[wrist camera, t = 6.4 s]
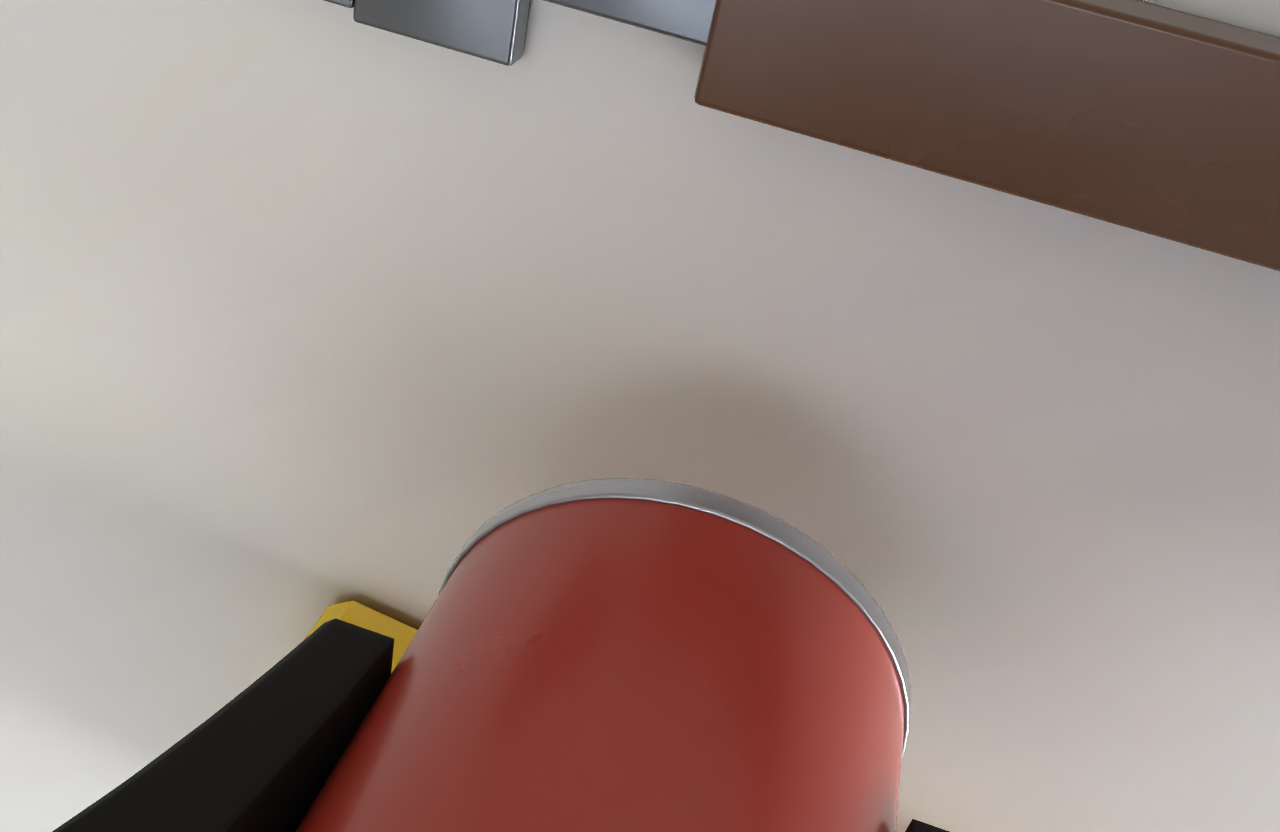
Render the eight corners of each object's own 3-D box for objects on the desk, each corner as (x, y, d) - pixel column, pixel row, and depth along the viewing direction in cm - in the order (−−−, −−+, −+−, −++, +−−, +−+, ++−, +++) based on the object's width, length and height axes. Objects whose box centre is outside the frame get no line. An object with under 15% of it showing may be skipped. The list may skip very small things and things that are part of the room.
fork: (1782, 130, 9) (1844, 163, 9) (1589, 363, 11) (1627, 407, 10) (136, -301, 11) (83, -301, 10) (152, -49, 12) (107, -35, 12)
